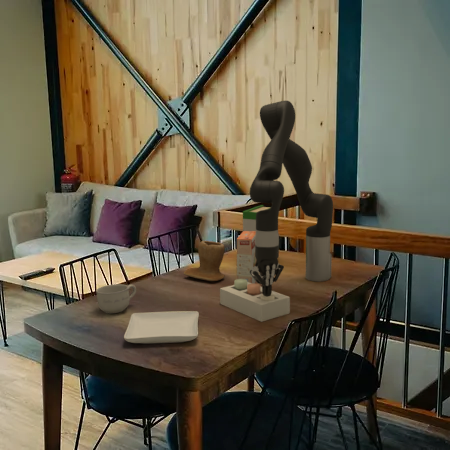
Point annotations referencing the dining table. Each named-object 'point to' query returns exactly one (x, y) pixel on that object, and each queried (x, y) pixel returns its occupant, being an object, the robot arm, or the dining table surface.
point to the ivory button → (267, 297)
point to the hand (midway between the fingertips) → (266, 295)
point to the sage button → (240, 284)
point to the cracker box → (246, 255)
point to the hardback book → (251, 218)
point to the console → (255, 303)
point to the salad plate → (162, 327)
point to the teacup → (114, 297)
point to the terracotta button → (253, 289)
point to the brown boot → (208, 262)
